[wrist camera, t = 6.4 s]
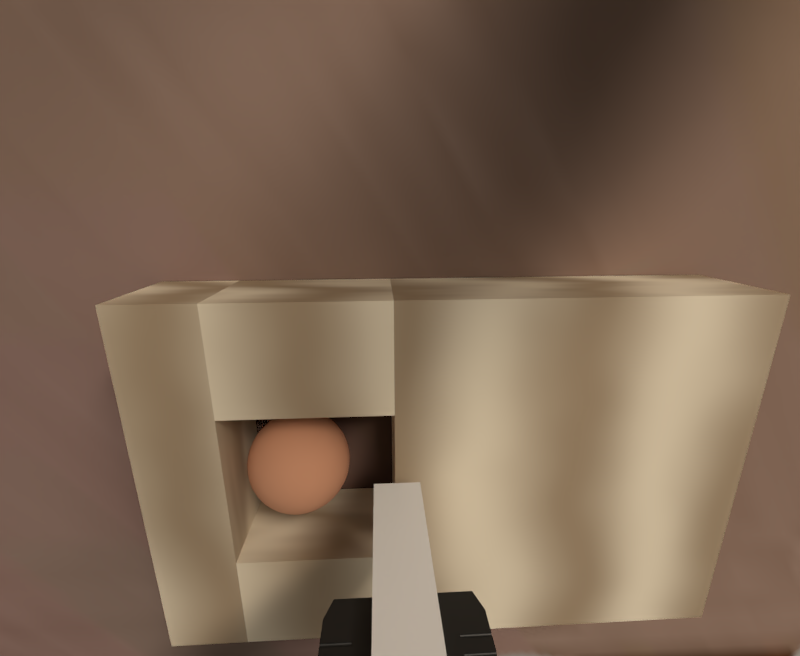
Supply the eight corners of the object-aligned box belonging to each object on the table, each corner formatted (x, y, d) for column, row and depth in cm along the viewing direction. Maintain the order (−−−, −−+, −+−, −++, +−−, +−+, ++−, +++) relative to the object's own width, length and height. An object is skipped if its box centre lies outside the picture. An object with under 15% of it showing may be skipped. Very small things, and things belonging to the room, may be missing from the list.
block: (210, 562, 20) (171, 646, 16) (162, 281, 16) (95, 305, 12) (643, 542, 21) (701, 616, 17) (698, 274, 17) (790, 294, 13)
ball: (247, 486, 18) (259, 553, 15) (237, 404, 17) (247, 456, 13) (335, 462, 20) (365, 518, 16) (331, 386, 18) (362, 429, 15)
